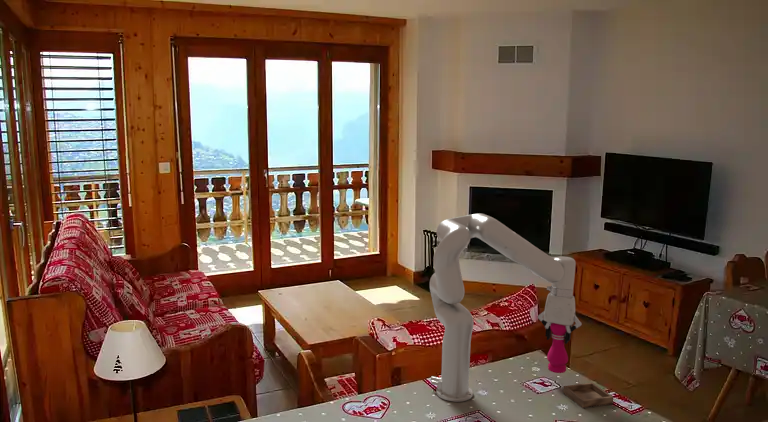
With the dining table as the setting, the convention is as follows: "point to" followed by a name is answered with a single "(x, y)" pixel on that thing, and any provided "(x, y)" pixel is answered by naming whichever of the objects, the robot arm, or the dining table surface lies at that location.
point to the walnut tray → (588, 395)
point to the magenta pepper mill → (557, 349)
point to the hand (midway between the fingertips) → (557, 340)
